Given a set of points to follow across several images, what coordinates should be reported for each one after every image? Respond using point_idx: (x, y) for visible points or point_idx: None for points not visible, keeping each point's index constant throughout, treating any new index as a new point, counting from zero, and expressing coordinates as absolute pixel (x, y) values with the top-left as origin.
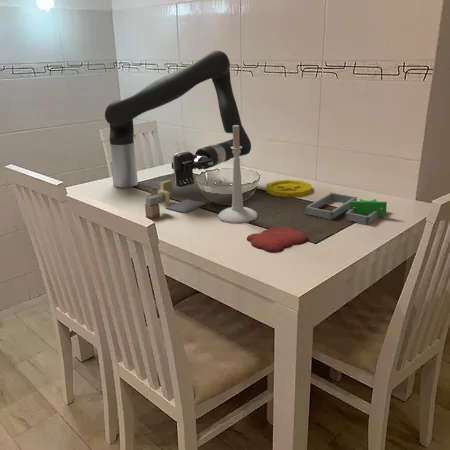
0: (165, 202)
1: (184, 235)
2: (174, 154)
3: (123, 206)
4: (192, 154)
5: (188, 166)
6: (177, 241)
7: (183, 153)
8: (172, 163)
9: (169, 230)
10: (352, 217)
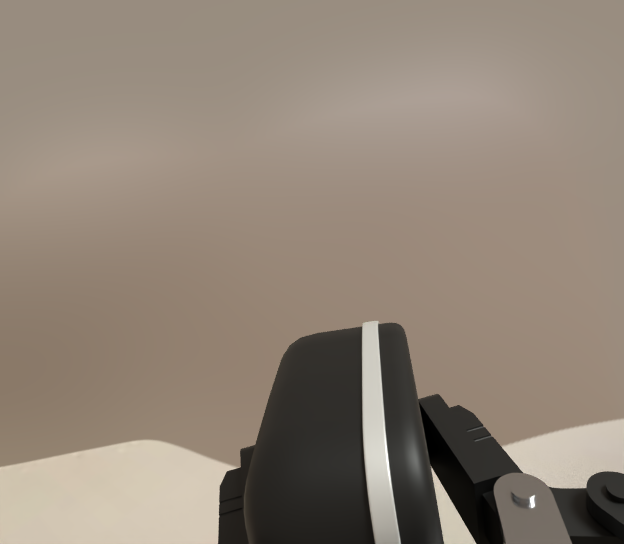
0: None
1: (103, 501)
2: (386, 323)
3: (619, 437)
4: (247, 500)
5: (223, 487)
6: (101, 463)
7: (300, 368)
8: (423, 398)
9: (189, 480)
10: None
